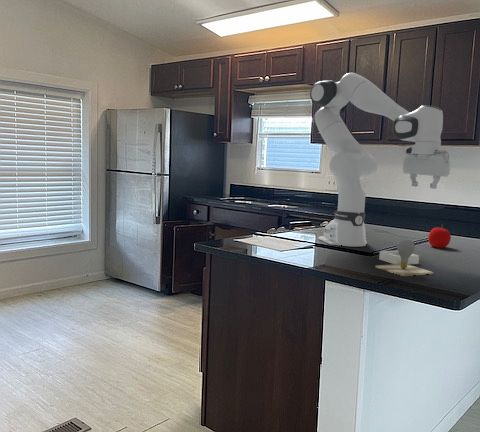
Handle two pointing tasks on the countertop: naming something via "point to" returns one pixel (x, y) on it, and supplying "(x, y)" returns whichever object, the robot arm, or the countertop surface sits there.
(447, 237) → the fruit
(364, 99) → the robot arm
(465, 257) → the countertop surface
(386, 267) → the board
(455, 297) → the countertop surface
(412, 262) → the socket
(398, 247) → the light bulb
